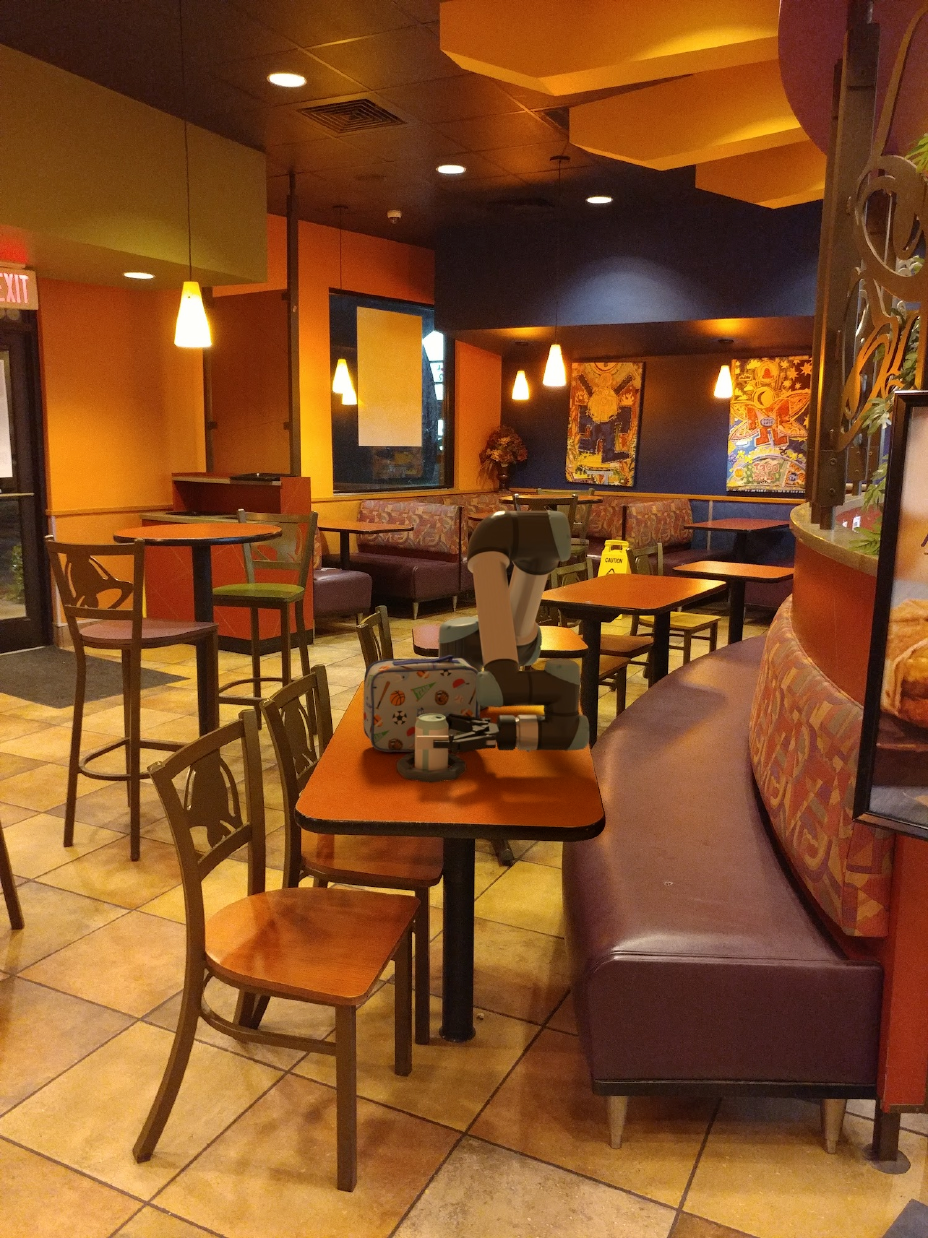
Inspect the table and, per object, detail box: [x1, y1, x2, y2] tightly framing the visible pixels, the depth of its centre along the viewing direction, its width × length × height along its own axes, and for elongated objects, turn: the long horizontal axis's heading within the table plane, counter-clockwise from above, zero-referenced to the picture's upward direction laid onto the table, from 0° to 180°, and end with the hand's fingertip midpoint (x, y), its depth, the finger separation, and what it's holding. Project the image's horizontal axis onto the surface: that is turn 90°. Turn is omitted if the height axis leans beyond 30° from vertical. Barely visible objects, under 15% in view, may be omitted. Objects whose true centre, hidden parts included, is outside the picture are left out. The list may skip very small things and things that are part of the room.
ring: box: [396, 752, 466, 784], centre depth 206 cm, size 14×14×2 cm
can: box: [414, 714, 449, 770], centre depth 205 cm, size 7×7×12 cm
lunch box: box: [362, 655, 481, 753], centre depth 220 cm, size 28×10×22 cm, turn 105°
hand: (416, 732), depth 204 cm, fingers open, 13 cm apart
